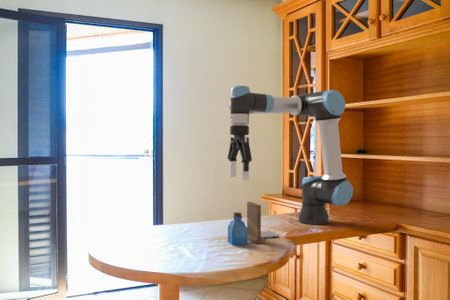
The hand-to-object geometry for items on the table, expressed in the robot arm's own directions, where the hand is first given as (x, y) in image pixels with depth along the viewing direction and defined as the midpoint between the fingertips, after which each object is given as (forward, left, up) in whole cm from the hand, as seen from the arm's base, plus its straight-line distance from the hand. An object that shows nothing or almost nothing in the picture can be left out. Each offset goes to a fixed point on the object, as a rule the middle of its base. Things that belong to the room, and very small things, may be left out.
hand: (238, 178), depth 157 cm
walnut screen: (-7, -1, -26) cm, 27 cm away
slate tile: (-15, -7, -26) cm, 30 cm away
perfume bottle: (+1, +1, -26) cm, 26 cm away
